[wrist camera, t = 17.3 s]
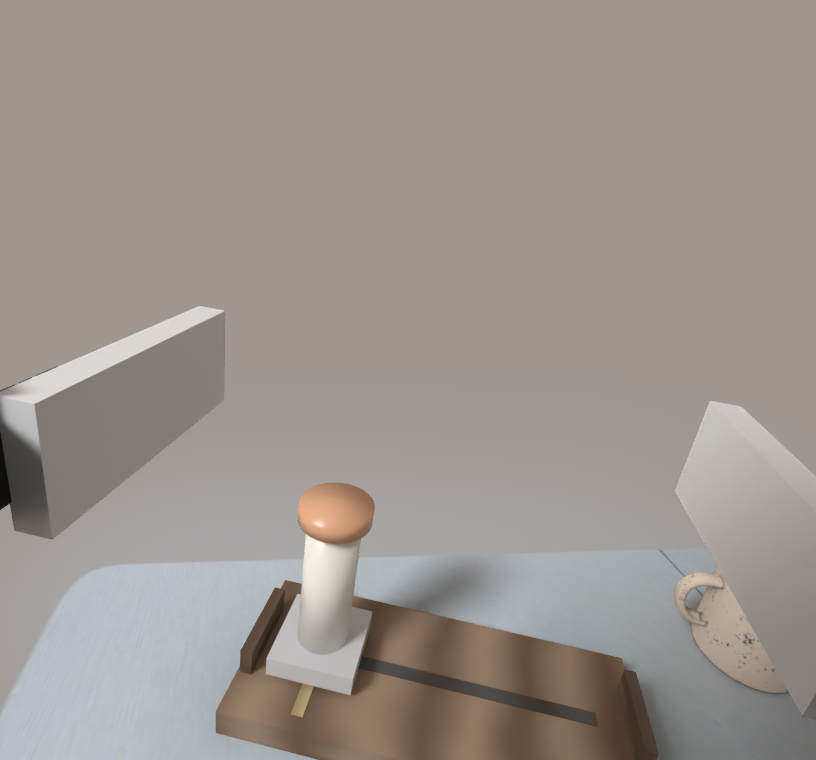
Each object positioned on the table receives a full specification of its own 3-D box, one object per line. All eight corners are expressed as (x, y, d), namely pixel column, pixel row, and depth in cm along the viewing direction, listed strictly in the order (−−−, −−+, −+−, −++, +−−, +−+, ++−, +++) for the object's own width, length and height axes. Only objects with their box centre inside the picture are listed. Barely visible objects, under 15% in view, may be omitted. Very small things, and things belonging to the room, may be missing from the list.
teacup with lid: (767, 621, 52) (819, 523, 47) (825, 709, 43) (894, 599, 39) (642, 597, 52) (682, 498, 48) (675, 679, 44) (727, 567, 40)
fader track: (614, 676, 43) (628, 639, 42) (654, 848, 32) (676, 807, 31) (284, 598, 46) (286, 561, 44) (215, 732, 35) (216, 689, 33)
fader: (370, 626, 41) (391, 488, 37) (350, 695, 36) (372, 543, 31) (296, 608, 42) (307, 470, 37) (265, 674, 36) (274, 521, 32)
